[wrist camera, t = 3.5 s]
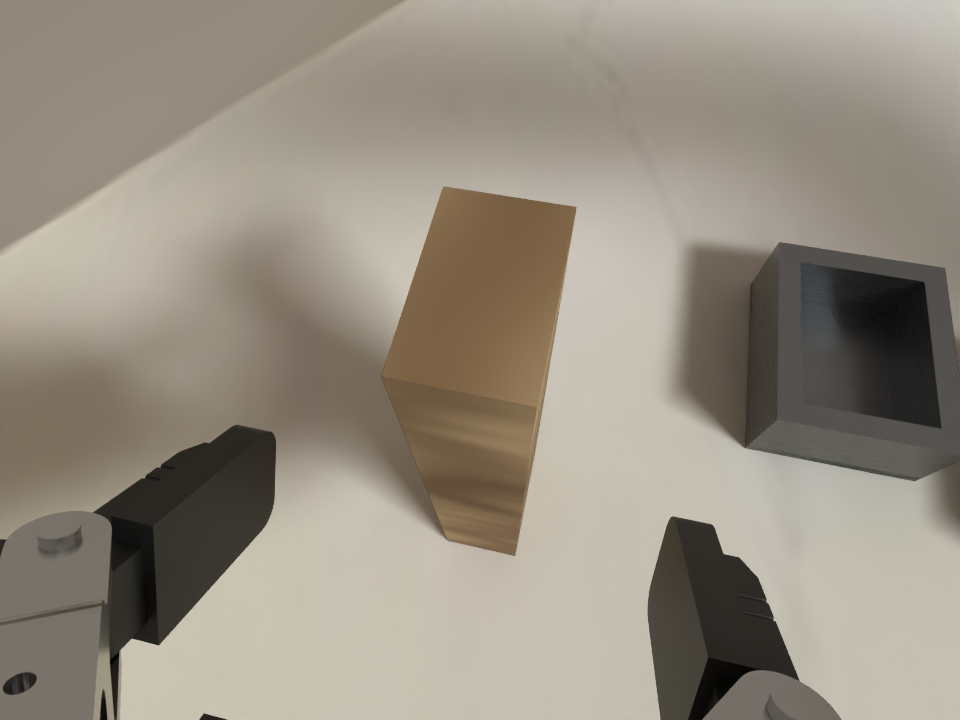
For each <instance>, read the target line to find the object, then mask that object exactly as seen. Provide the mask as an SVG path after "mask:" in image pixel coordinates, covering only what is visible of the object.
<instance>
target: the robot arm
mask: <svg viewBox="0 0 960 720" xmlns="http://www.w3.org/2000/svg"><path fill="white" fill-rule="evenodd" d="M275 460H276V439H275V436H274V434H273V433H272V432H269V431H265V430H260V429H255V428H250V427H245V426H241V425H234V426H232V427H231V428H230V429H228V430H227V431H225V432H224V433H223V434H221V435H220V436H219V437H217V438H216V439H215V440H213V441H212V442H211V443H202V444H200V445H197V446H194V447H191V448H189V449H186V450H183V451H180V452H179V453H177V454H176V455H174V456H173V457H172V458H170V459H169V460H167V461H166V462H164V463H163V464H162V465H161V467H160V468H158V467H157V468H156V469H154V470H153V471H152V472H150V473H149V474H147V475H146V477H145V479H140V480H139V481H137V482H136V483H134V484H133V485H132V486H130V487H129V488H127V489H126V490H125V491H123V492H122V493H120V494H119V495H117V496H116V497H115V498H113V499H112V500H110V501H109V502H107V503H106V504H105V505H103V506H102V507H100V508H99V509H97V510H96V511H95V512H93V513H91V512H83V511H72V512H63V513H57V514H52V515H48V516H45V517H42V518H39V519H36V520H34V521H31V522H29V523H27V524H25V525H23V526H22V527H20V528H19V529H17V530H16V531H15V532H13V533H12V534H11V535H10V536H9V537H8V539H7V540H0V720H120V700H121V668H122V661H121V649H122V648H123V647H124V646H125V645H126V644H127V643H128V642H129V641H130V640H131V639H136V640H140V641H144V642H148V643H152V644H155V645H160V643H161V642H162V641H163V640H164V639H165V638H166V637H167V636H168V635H169V633H170V632H171V631H172V630H173V629H174V628H175V627H176V626H177V624H178V623H179V622H180V621H181V620H182V619H183V618H184V617H185V616H186V614H187V613H188V612H189V611H190V610H191V609H192V608H193V607H194V606H195V604H196V603H197V602H198V601H199V600H200V599H201V598H202V597H203V595H204V594H205V593H206V592H207V591H208V590H209V589H210V588H211V587H212V585H213V584H214V583H215V582H216V581H217V580H218V579H219V578H220V576H221V575H222V574H223V573H224V572H225V571H226V570H227V569H228V568H229V566H230V565H231V564H232V563H233V562H234V561H235V560H236V559H237V557H238V556H239V555H240V554H241V553H242V552H243V551H244V550H245V549H246V547H247V546H248V545H249V544H250V543H251V542H252V541H253V540H254V539H255V537H256V536H257V535H258V534H259V533H260V532H261V531H262V530H263V528H264V527H265V525H266V524H267V522H268V520H269V518H270V515H271V512H272V509H273V505H274V496H275ZM766 600H767V599H766V597H765V594H764V592H763V589H762V587H761V584H760V582H759V579H758V577H757V576H756V575H755V574H754V573H753V572H752V571H751V570H750V569H749V568H748V567H747V566H746V564H745V563H744V562H743V561H742V560H741V559H740V558H739V557H734V556H730V555H725V554H723V552H722V549H721V546H720V543H719V540H718V537H717V534H716V531H715V528H714V526H713V525H711V524H707V523H702V522H697V521H692V520H688V519H683V518H678V517H671V518H670V520H669V522H668V524H667V527H666V531H665V534H664V538H663V541H662V545H661V549H660V552H659V556H658V560H657V563H656V567H655V571H654V574H653V578H652V582H651V586H650V591H649V598H648V623H649V631H650V638H651V646H652V654H653V662H654V670H655V678H656V686H657V694H658V702H659V710H660V718H661V720H841V719H840V717H839V715H838V714H837V713H836V711H835V710H834V709H833V708H832V706H831V705H830V704H829V703H828V702H827V701H826V700H825V699H824V698H822V697H821V696H820V695H819V694H818V693H817V692H815V691H814V690H812V689H811V688H810V687H808V686H806V685H805V684H803V683H801V682H800V681H799V678H798V676H797V673H796V671H795V668H794V666H793V663H792V661H791V658H790V656H789V654H788V651H787V649H786V646H785V644H784V641H783V639H782V636H781V634H780V631H779V629H778V626H777V624H776V622H775V621H773V618H774V616H773V614H772V611H771V609H770V606H769V604H768V603H766ZM200 720H226V719H222V718H219V717H215V716H211V715H208V714H203V715H202V717H201V718H200Z"/></svg>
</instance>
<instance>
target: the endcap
mask: <svg viewBox="0 0 960 720" xmlns="http://www.w3.org/2000/svg"><path fill="white" fill-rule="evenodd" d="M745 448H748V449H753V450H759V451H764V452H769V453H774V454H779V455H784V456H789V457H794V458H799V459H804V460H809V461H814V462H819V463H825V464H830V465H835V466H840V467H845V468H850V469H855V470H860V471H865V472H870V473H875V474H880V475H886V476H891V477H896V478H901V479H906V480H911V481H916V480H918V479H921V478H923V477H925V476H927V475H930V474H932V473H934V472H936V471H939V470H941V469H943V468H945V467H948V466H950V465H952V464H954V463H956V462H959V461H960V376H959V368H958V361H957V353H956V346H955V338H954V331H953V324H952V316H951V309H950V301H949V294H948V286H947V279H946V271H945V268H941V267H935V266H928V265H922V264H915V263H909V262H903V261H896V260H890V259H883V258H877V257H870V256H864V255H858V254H851V253H845V252H838V251H832V250H826V249H819V248H813V247H806V246H800V245H794V244H787V243H781V242H779V243H778V245H777V246H776V248H775V249H774V251H773V252H772V254H771V255H770V257H769V258H768V260H767V262H766V263H765V265H764V266H763V268H762V269H761V271H760V272H759V274H758V275H757V277H756V278H755V280H754V281H753V283H752V284H751V301H750V330H749V359H748V388H747V417H746V446H745Z"/></svg>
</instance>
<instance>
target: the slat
mask: <svg viewBox="0 0 960 720" xmlns="http://www.w3.org/2000/svg"><path fill="white" fill-rule="evenodd" d="M575 213H576V207H573V206H566V205H560V204H553V203H547V202H540V201H534V200H528V199H521V198H515V197H508V196H502V195H495V194H489V193H482V192H476V191H469V190H463V189H457V188H450V187H444V186H443V189H442V192H441V195H440V198H439V201H438V204H437V207H436V210H435V213H434V216H433V219H432V222H431V225H430V228H429V232H428V235H427V238H426V241H425V244H424V247H423V250H422V253H421V256H420V259H419V262H418V265H417V268H416V271H415V274H414V277H413V280H412V283H411V287H410V290H409V293H408V296H407V299H406V302H405V305H404V308H403V311H402V314H401V317H400V320H399V323H398V326H397V329H396V332H395V335H394V339H393V342H392V345H391V348H390V351H389V354H388V357H387V360H386V363H385V366H384V369H383V372H382V375H381V377H382V380H383V382H384V385H385V387H386V390H387V392H388V395H389V397H390V400H391V402H392V405H393V407H394V409H395V412H396V414H397V417H398V419H399V422H400V424H401V427H402V429H403V432H404V434H405V437H406V439H407V442H408V444H409V447H410V449H411V452H412V454H413V457H414V459H415V462H416V464H417V467H418V469H419V471H420V474H421V476H422V479H423V481H424V484H425V486H426V489H427V491H428V494H429V496H430V499H431V501H432V504H433V506H434V509H435V511H436V514H437V516H438V519H439V521H440V524H441V526H442V528H443V531H444V533H445V536H446V538H447V540H448V541H452V542H457V543H461V544H465V545H470V546H474V547H478V548H483V549H487V550H492V551H496V552H500V553H505V554H509V555H514V556H515V553H516V548H517V543H518V538H519V533H520V527H521V522H522V517H523V512H524V507H525V501H526V496H527V491H528V486H529V481H530V475H531V470H532V465H533V460H534V455H535V449H536V443H537V437H538V432H539V426H540V420H541V414H542V408H543V402H544V396H545V390H546V384H547V378H548V372H549V367H550V361H551V355H552V349H553V343H554V337H555V331H556V325H557V319H558V313H559V307H560V302H561V296H562V290H563V284H564V278H565V272H566V266H567V260H568V254H569V248H570V242H571V237H572V231H573V225H574V219H575Z"/></svg>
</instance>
